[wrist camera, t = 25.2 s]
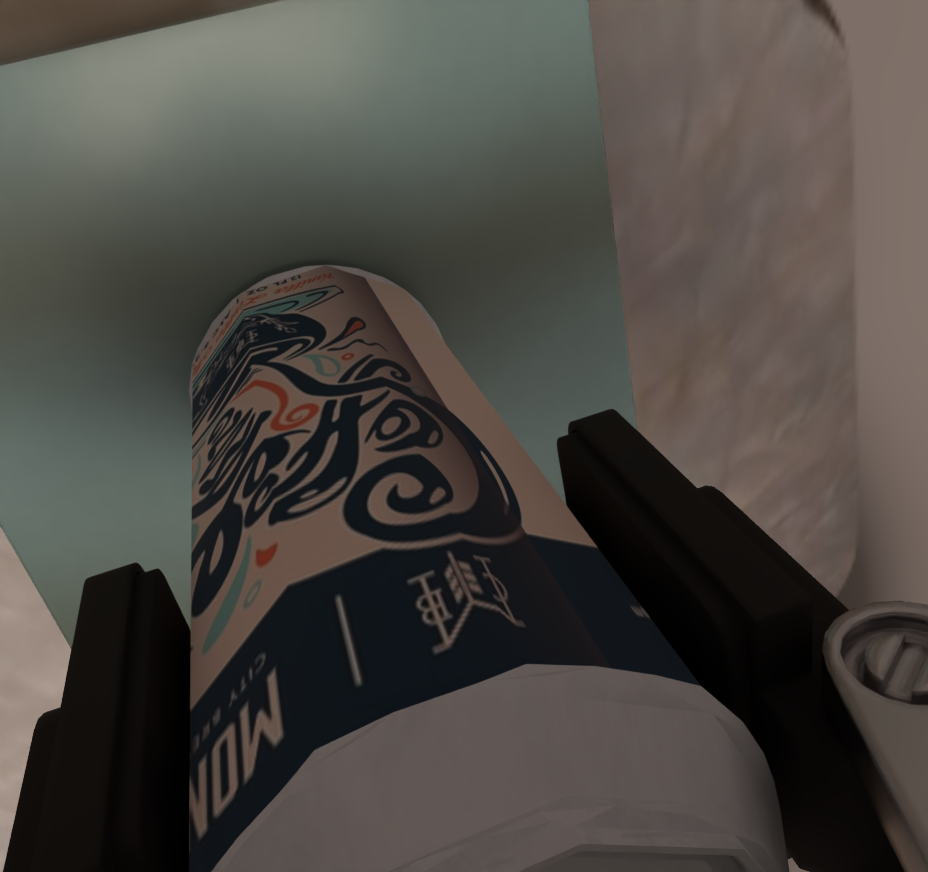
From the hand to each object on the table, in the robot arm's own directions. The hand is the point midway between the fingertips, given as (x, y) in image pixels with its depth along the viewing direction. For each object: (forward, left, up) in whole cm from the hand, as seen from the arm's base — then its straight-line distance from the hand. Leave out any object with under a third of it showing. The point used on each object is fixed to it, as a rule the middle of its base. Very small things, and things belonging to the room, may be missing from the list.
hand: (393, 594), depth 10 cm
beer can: (0, 0, -7) cm, 7 cm away
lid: (0, -2, -8) cm, 8 cm away
